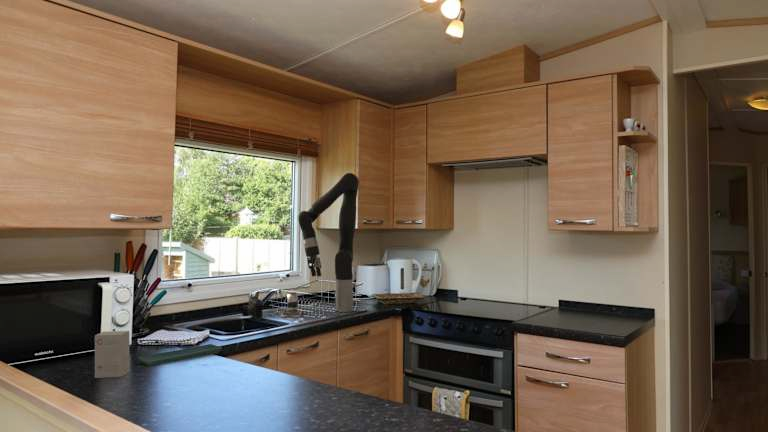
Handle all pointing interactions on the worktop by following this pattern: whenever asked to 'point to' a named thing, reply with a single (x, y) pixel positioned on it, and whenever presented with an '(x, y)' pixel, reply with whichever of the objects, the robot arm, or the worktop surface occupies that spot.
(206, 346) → the dark green board
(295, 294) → the lens
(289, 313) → the mount ring
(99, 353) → the small box
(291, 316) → the base board
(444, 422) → the worktop surface
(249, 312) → the camera
